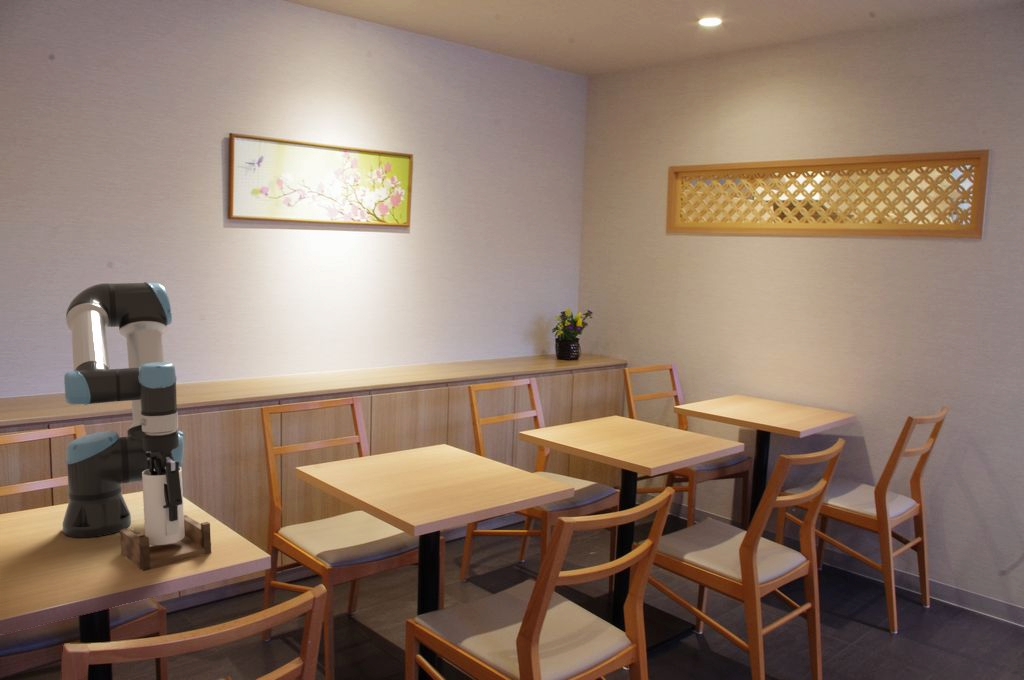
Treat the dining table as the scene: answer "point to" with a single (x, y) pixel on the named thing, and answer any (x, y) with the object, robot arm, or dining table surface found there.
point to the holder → (166, 546)
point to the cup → (159, 509)
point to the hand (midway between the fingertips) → (165, 528)
